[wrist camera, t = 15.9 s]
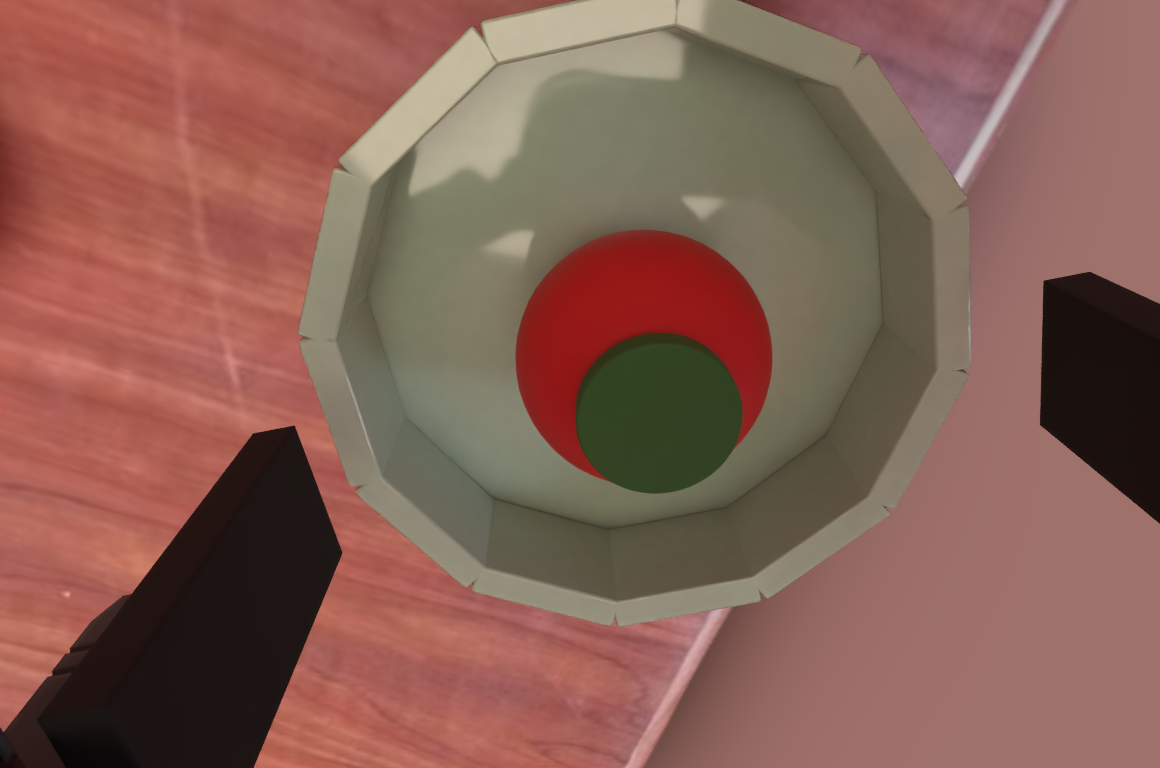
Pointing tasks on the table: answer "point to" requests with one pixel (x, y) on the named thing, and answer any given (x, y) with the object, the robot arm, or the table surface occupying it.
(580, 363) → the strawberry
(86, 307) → the table surface
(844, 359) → the dish
